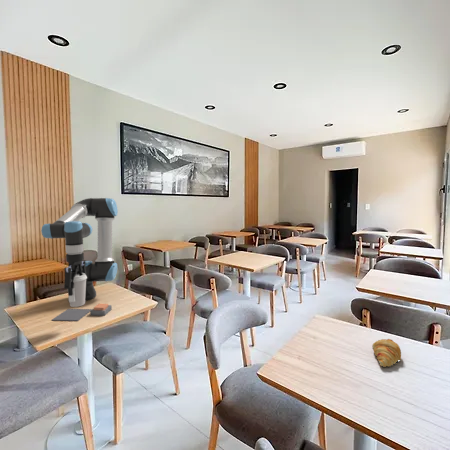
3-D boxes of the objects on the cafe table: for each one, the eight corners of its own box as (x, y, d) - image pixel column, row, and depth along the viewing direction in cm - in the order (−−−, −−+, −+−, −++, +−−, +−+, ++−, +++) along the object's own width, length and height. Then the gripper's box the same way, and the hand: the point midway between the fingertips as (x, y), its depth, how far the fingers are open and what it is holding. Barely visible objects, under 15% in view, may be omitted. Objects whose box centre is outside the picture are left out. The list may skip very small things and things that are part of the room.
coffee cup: (81, 308, 126) (80, 277, 125) (62, 308, 127) (60, 277, 125) (92, 300, 136) (90, 272, 134) (73, 300, 136) (72, 272, 135)
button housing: (98, 309, 153) (97, 305, 153) (111, 309, 153) (111, 305, 153) (90, 315, 145) (90, 310, 145) (104, 315, 145) (104, 311, 145)
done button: (98, 307, 152) (98, 303, 152) (108, 307, 152) (108, 303, 151) (93, 311, 146) (93, 307, 146) (103, 312, 146) (103, 307, 146)
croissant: (390, 381, 99) (404, 367, 96) (365, 360, 104) (376, 346, 101) (396, 353, 115) (407, 341, 112) (373, 337, 120) (384, 324, 117)
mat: (68, 309, 153) (68, 308, 153) (92, 310, 152) (92, 309, 152) (51, 320, 139) (51, 319, 139) (77, 321, 138) (77, 320, 138)
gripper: (79, 248, 139) (81, 290, 141) (52, 257, 119) (55, 306, 121) (93, 248, 139) (95, 290, 141) (69, 257, 118) (72, 306, 121)
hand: (77, 298), depth 131 cm, fingers closed on coffee cup, 8 cm apart
